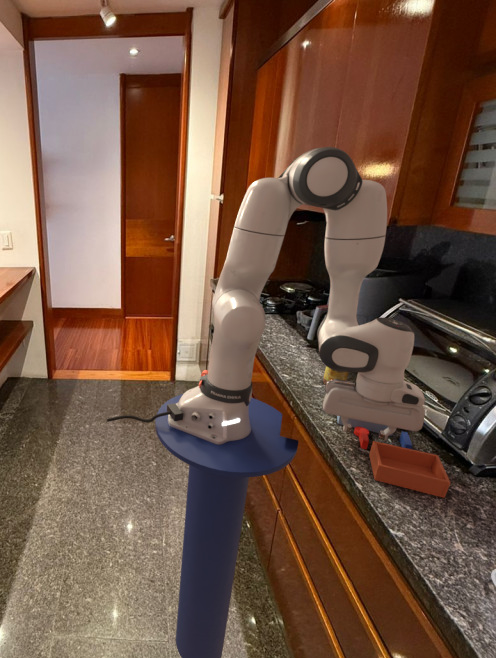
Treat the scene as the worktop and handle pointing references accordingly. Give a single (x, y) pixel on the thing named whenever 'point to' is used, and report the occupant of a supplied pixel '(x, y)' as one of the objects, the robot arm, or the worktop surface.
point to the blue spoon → (405, 440)
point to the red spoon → (362, 436)
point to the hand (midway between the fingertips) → (364, 434)
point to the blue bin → (364, 424)
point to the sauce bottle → (334, 375)
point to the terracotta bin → (409, 469)
